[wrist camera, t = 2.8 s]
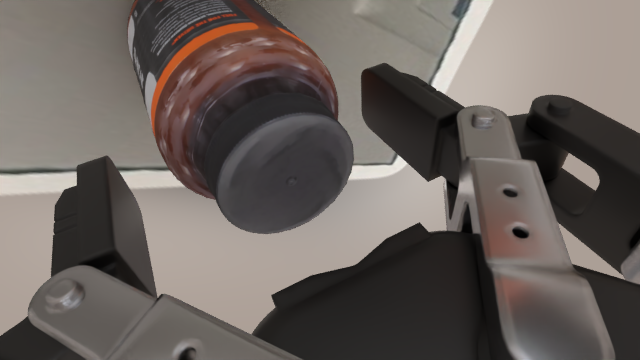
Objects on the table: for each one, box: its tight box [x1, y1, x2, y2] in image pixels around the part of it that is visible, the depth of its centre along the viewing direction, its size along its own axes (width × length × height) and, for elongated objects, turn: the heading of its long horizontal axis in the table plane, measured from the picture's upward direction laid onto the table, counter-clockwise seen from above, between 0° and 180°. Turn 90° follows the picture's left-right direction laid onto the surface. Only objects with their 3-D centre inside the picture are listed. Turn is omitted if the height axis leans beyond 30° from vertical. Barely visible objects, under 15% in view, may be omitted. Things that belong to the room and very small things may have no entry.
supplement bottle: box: [127, 0, 354, 234], centre depth 14 cm, size 6×6×11 cm
